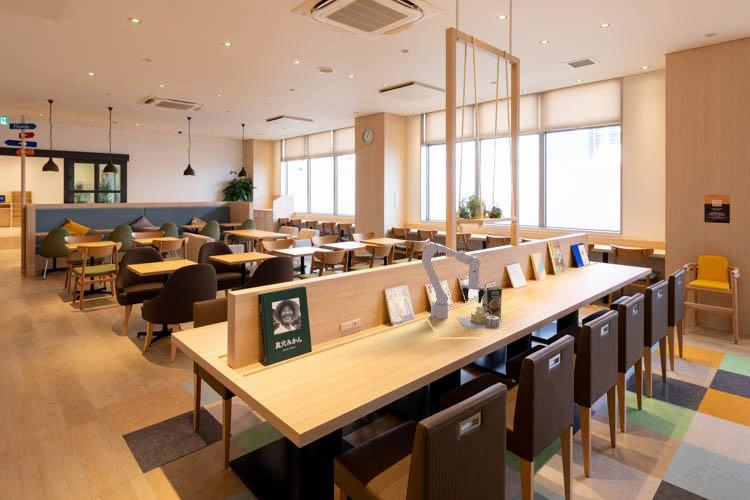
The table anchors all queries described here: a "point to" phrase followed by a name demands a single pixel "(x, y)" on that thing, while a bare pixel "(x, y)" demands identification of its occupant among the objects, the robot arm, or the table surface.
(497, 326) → the fitting board
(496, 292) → the coffee box
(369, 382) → the table surface
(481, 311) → the metal cylinder
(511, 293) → the table surface
